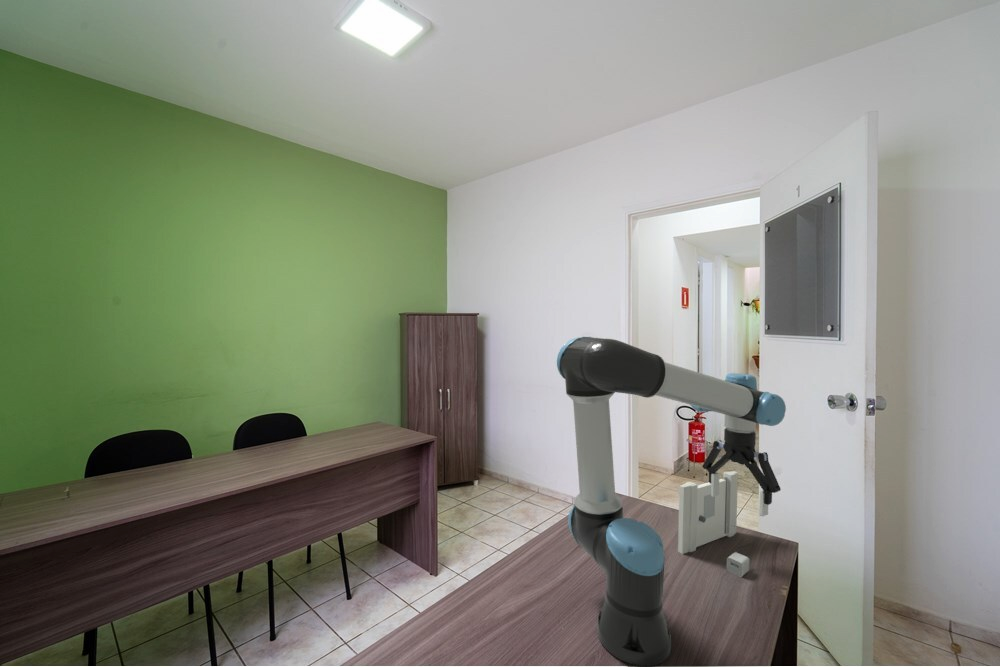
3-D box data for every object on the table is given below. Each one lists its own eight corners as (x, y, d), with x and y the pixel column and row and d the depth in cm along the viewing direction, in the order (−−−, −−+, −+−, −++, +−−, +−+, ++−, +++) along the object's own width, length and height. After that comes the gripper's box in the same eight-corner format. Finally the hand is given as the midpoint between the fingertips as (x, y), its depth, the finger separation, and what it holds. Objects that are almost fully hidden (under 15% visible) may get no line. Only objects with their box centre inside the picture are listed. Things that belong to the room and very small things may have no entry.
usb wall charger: (726, 570, 111) (726, 556, 111) (737, 561, 115) (737, 548, 115) (742, 578, 108) (742, 563, 108) (752, 568, 112) (753, 554, 112)
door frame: (683, 555, 118) (685, 487, 118) (676, 550, 121) (677, 484, 120) (737, 533, 131) (739, 473, 130) (730, 530, 133) (731, 470, 132)
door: (719, 534, 129) (721, 478, 129) (727, 538, 127) (729, 481, 127) (691, 544, 123) (692, 486, 122) (699, 549, 121) (700, 489, 120)
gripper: (797, 439, 103) (795, 520, 104) (706, 418, 125) (704, 486, 125) (781, 443, 99) (779, 527, 100) (690, 421, 121) (689, 490, 122)
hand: (738, 504), depth 113 cm, fingers open, 13 cm apart
